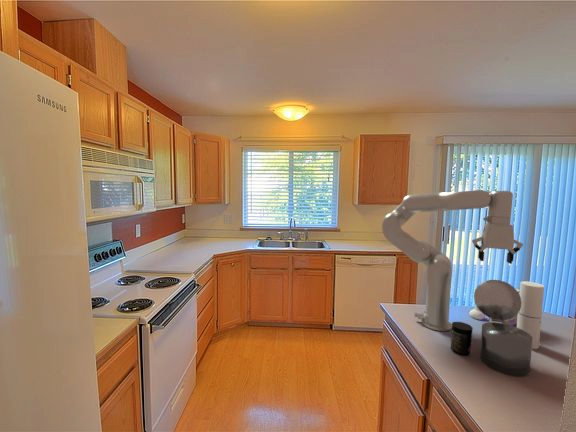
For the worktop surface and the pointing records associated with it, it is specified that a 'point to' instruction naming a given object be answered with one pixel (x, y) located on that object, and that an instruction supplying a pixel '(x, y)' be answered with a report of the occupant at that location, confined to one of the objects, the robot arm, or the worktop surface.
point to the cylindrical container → (531, 310)
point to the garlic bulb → (476, 314)
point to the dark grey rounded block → (506, 349)
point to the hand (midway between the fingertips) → (495, 261)
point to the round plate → (497, 300)
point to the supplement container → (461, 338)
